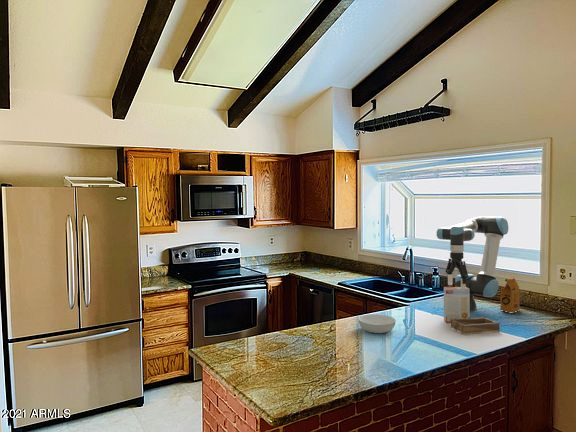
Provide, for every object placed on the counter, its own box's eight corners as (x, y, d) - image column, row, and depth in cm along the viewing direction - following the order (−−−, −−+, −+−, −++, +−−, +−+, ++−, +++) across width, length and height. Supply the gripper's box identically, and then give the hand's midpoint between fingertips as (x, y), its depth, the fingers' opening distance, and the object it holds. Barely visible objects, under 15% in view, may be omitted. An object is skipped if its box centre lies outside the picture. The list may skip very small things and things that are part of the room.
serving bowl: (353, 333, 251) (353, 321, 251) (364, 324, 269) (364, 312, 269) (390, 338, 241) (390, 326, 241) (399, 328, 260) (399, 316, 260)
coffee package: (497, 311, 297) (497, 278, 296) (507, 308, 304) (507, 276, 303) (512, 314, 289) (512, 280, 288) (522, 311, 296) (522, 278, 295)
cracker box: (466, 320, 275) (467, 286, 274) (469, 323, 269) (470, 288, 268) (443, 320, 276) (443, 286, 275) (445, 322, 270) (445, 288, 269)
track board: (450, 328, 259) (450, 319, 259) (484, 325, 264) (484, 317, 263) (464, 335, 246) (464, 325, 246) (499, 332, 251) (499, 323, 251)
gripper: (439, 249, 282) (439, 283, 283) (463, 254, 258) (463, 291, 259) (450, 249, 284) (450, 283, 285) (475, 254, 259) (474, 290, 260)
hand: (456, 287), depth 272 cm, fingers open, 13 cm apart
